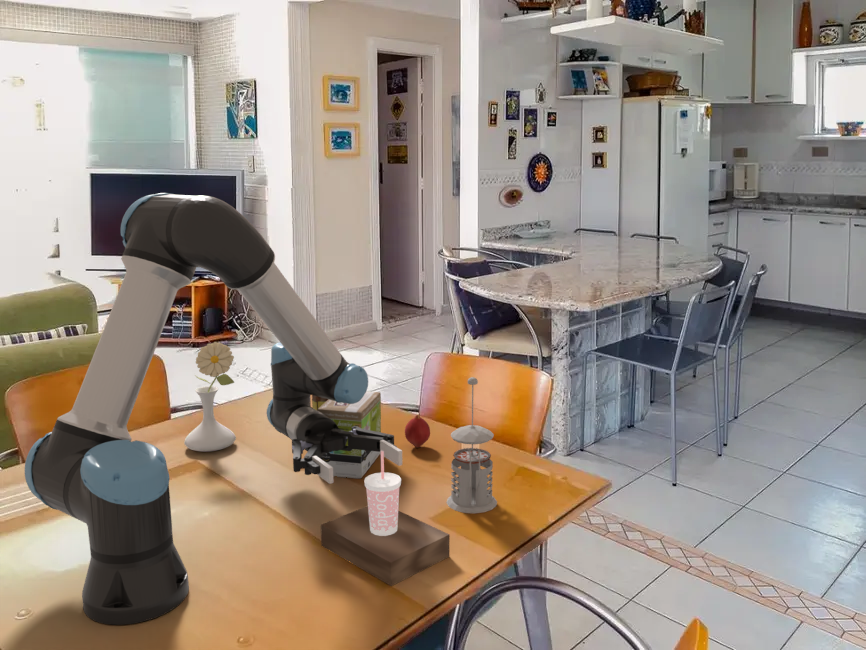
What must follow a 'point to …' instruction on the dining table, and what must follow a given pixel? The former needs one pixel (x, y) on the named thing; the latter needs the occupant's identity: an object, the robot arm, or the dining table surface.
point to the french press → (471, 470)
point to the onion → (417, 431)
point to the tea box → (345, 418)
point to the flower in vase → (211, 400)
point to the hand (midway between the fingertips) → (366, 466)
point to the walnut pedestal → (385, 545)
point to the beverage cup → (383, 501)
